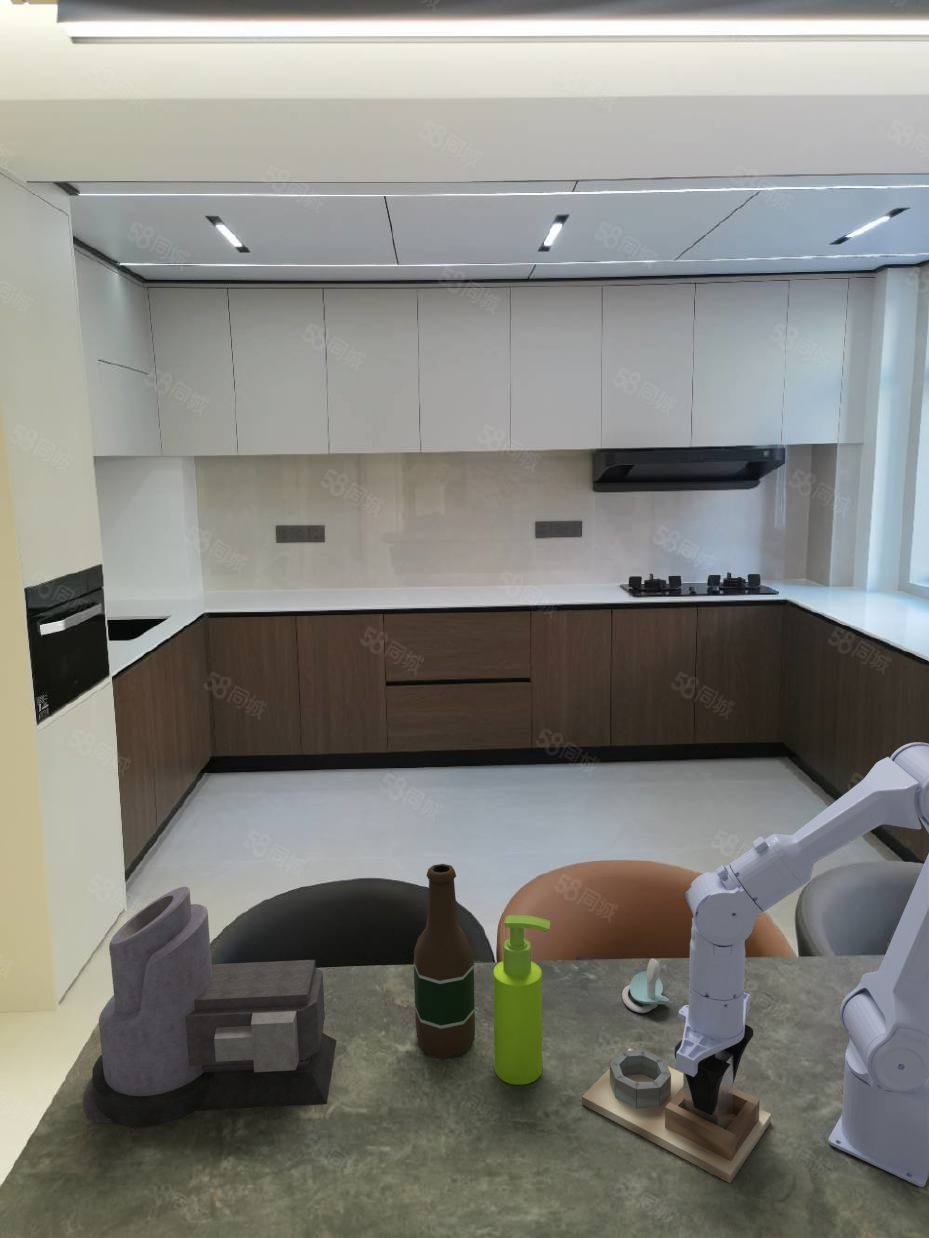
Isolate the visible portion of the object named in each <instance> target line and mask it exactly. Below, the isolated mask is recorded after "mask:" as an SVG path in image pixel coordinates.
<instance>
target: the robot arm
mask: <svg viewBox="0 0 929 1238" xmlns="http://www.w3.org/2000/svg"><path fill="white" fill-rule="evenodd" d="M920 821H921V822H920ZM921 823H922V824H921ZM881 825H888V826H893V827H894V826H895V827H900V828H908V829H913V830H921V829H922V825H923V826H924V828H925V829H926V831H927V834H929V743H926V742H919V741H918V742H916V741H915V742H910V743H906V744H904V745H902V746H900V747H899V748H897V749H896V750H895V751H894V752H893V753H892V754H891V756H890V757H889V756H887V757H885V758H882V759H881V760H879V761H877V762H876V763H875V764H874V766H872V768H871V769H870V771H869V772H868V773H867V775H865V777H864V778H863V779H861V781H859V782H858V783H857V784H856V785H854V786H853V787H852V788H851V789H850V790H848V791H847V792H846V793H844V794H842V796H840V797H839V798H838V799H836V800H835V801H834V802H832V804H830V805H829V806H828V807H827V808H825V809H824V810H823V811H821V812H820V813H818V815H816V816H814V818H812V819H810V821H808V822H807V823H806V824H805V825H803V826H802V827H801V828H800V829H798V830H797V831H796V832H794V833H792V834H784V833H783V834H782V833H772V834H770V836H767V837H766V838H764V837H763V836H758V837H757V838H756V839H754V840H753V841H752V842H751V845H752V848H751V849H749V850H747V851H746V852H745V853H743V854H741V855H740V856H739V857H738V858H736V859H734V860H733V861H732V862H730V863H729V864H727V865H726V866H725V865H724V864H722V865H720V866H718V867H717V868H716V869H715V871H713V872H710V871H707V872H704V873H702V874H700V875H698V876H697V877H696V878H694V879H693V881H692V882H691V884H690V887H689V889H688V890H687V891H685V899H686V902H687V904H688V906H689V908H690V910H691V913H692V916H693V917H692V918H691V930H690V936H691V939H690V941H689V970H688V974H689V976H688V1004H685V1005H683V1006H682V1007H681V1008H680V1009H679V1010H678V1018H679V1019H680V1020H682V1021H684V1028H683V1032H682V1033H683V1035H682V1039H681V1040H680V1041H679V1042H678V1043H677V1044H676V1045H675V1047H674V1059H675V1060H676V1061H675V1070H677V1071H679V1072H682V1073H684V1074H685V1076H686V1078H687V1081H688V1085H689V1088H690V1092H691V1097H692V1101H693V1104H694V1107H695V1108H696V1109H699V1110H701V1111H703V1112H705V1113H707V1114H709V1115H712V1114H713V1112H714V1110H715V1108H716V1105H717V1100H718V1094H719V1088H720V1084H721V1081H722V1078H723V1076H724V1074H725V1072H726V1070H727V1069H728V1067H729V1066H730V1065H731V1064H729V1063H727V1062H724V1061H722V1060H720V1059H718V1058H715V1053H717V1052H720V1051H722V1050H726V1051H728V1052H731V1053H733V1084H735V1079H736V1077H737V1076H736V1075H737V1073H738V1069H739V1066H740V1064H741V1063H740V1062H741V1059H742V1057H743V1055H744V1052H745V1050H746V1048H747V1046H748V1044H749V1043H750V1041H751V1039H752V1038H753V1037H754V1029H753V1028H752V1027H751V1026H749V1025H747V1024H746V1017H747V1013H748V1012H749V1011H750V1010H751V994H750V993H746V992H745V969H746V968H745V967H746V947H745V944H746V943H745V941H746V940H747V939H748V938H749V937H750V936H751V934H752V932H753V929H754V927H755V923H756V921H757V920H758V919H759V918H760V917H761V914H763V913H764V912H766V911H768V910H769V909H771V908H772V907H774V906H775V905H776V904H778V903H779V902H781V901H782V900H784V899H785V898H787V897H789V896H790V895H791V894H793V893H794V892H796V891H797V890H799V889H800V888H802V887H803V886H804V885H806V884H808V883H809V882H810V881H811V879H812V874H813V869H814V865H815V864H816V863H818V862H819V861H821V860H822V859H825V857H828V856H829V855H831V854H833V853H834V852H837V851H838V850H840V849H841V848H843V847H844V846H847V845H848V844H851V842H853V841H855V840H857V839H859V838H860V837H862V836H863V835H866V834H867V833H869V832H871V831H872V830H875V829H876V828H878V827H880V826H881ZM917 877H918V878H917V880H916V882H915V884H914V887H913V890H912V892H911V893H910V896H909V898H908V901H907V903H906V904H905V908H904V910H903V913H902V914H901V917H900V920H899V922H898V925H897V926H896V928H895V931H894V934H893V936H892V938H891V940H890V942H889V945H888V947H887V949H886V952H885V955H884V957H883V959H882V961H881V964H880V966H879V969H878V970H876V971H872V972H871V971H870V972H866V973H864V974H863V975H862V976H861V980H860V981H859V983H858V984H857V986H856V987H855V988H854V989H853V990H852V991H850V992H849V993H848V994H847V995H846V996H845V997H844V998H843V1000H842V1002H841V1005H840V1007H839V1018H840V1022H841V1023H842V1025H843V1027H844V1028H845V1030H846V1031H847V1033H849V1036H848V1037H849V1039H848V1045H847V1048H846V1050H845V1055H844V1073H843V1074H844V1075H843V1088H842V1089H843V1090H842V1091H843V1092H842V1109H841V1115H840V1117H839V1119H838V1120H837V1123H836V1124H835V1125H834V1128H833V1129H832V1132H830V1135H829V1136H828V1144H830V1146H832V1147H833V1148H836V1149H838V1150H841V1151H843V1152H845V1153H848V1154H849V1155H851V1156H853V1157H856V1158H858V1159H860V1160H862V1161H864V1162H866V1163H868V1164H871V1165H873V1166H875V1167H876V1168H879V1169H881V1170H883V1171H886V1172H888V1173H890V1174H892V1175H894V1176H896V1177H898V1178H901V1179H903V1180H905V1181H908V1182H909V1183H911V1184H913V1185H915V1186H917V1187H920V1188H921V1187H922V1188H923V1187H925V1186H926V1184H927V1181H928V1179H929V853H928V855H927V856H926V859H925V861H924V864H923V865H922V868H921V870H920V873H919V875H918V876H917Z"/></svg>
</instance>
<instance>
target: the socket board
mask: <svg viewBox="0 0 929 1238" xmlns="http://www.w3.org/2000/svg"><path fill="white" fill-rule="evenodd" d="M760 1102H761V1101H760V1099H759V1098H756V1097H755V1096H752V1095H751V1094H748V1093H746V1092H743V1091H742V1090H739V1089H737V1088H735V1087H733V1119H732V1121H731V1122H730V1123H729V1125H728V1126H727V1128H726V1129H723V1128H721V1127H719V1126H717V1125H715V1124H713V1123H711V1122H709V1121H707V1120H705V1119H703V1118H701V1117H699V1116H697V1115H695V1114H693V1113H691V1112H689V1111H687V1110H685V1109H683V1072H682V1071H680V1070H677V1069H676V1068H675V1069H674V1068H673V1067H670V1066H669V1065H667V1062H666V1061H665V1059H664V1058H663V1057H662V1056H661V1057H660V1056H658V1055H656V1054H654V1053H652V1052H650V1051H648V1050H645V1049H631V1048H628V1049H627V1050H622V1051H620V1052H619V1053H618V1054H617V1055H616V1056H615V1057H614V1058H613V1059H612V1060H611V1061H610V1062H609V1068H608V1070H606V1072H604V1074H603V1075H602V1076H601V1077H600V1078H599V1079H598V1080H597V1081H595V1083H594V1084H592V1086H591V1087H590V1088H589V1089H588V1090H587V1091H586V1092H585V1093H584V1094H582V1096H581V1104H582V1105H583V1106H584V1107H587V1108H588V1109H590V1108H591V1109H590V1110H592V1111H594V1112H596V1113H598V1114H600V1115H601V1116H603V1117H605V1118H607V1119H609V1120H610V1121H612V1122H615V1123H616V1124H619V1126H622V1127H623V1128H625V1129H627V1130H630V1131H632V1132H634V1133H635V1134H637V1135H639V1136H641V1137H643V1138H644V1139H646V1140H648V1141H650V1142H652V1143H654V1144H656V1145H657V1146H659V1147H661V1148H663V1149H665V1150H667V1151H669V1152H670V1153H673V1154H674V1155H676V1156H678V1157H680V1158H682V1159H683V1160H686V1161H688V1162H690V1163H691V1164H693V1165H695V1166H697V1167H698V1168H701V1169H702V1170H705V1171H706V1172H708V1173H710V1174H712V1175H714V1176H716V1177H717V1178H719V1179H720V1180H723V1181H725V1182H727V1183H729V1184H731V1183H732V1181H733V1180H734V1178H735V1177H736V1176H737V1174H738V1172H739V1171H740V1169H741V1168H742V1166H743V1165H744V1163H745V1162H746V1160H747V1159H748V1157H749V1155H750V1154H751V1153H752V1151H753V1150H754V1148H755V1146H756V1145H757V1144H758V1142H759V1141H760V1139H761V1137H762V1136H763V1134H764V1132H765V1131H766V1130H767V1128H768V1127H769V1126H770V1124H771V1121H772V1114H771V1113H770V1112H768V1111H765V1110H763V1109H761V1108H760V1105H761V1103H760Z"/></svg>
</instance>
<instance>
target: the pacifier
mask: <svg viewBox="0 0 929 1238" xmlns="http://www.w3.org/2000/svg"><path fill="white" fill-rule="evenodd" d="M660 976H661V965H660V963H659V962H658V960H657V959H656V958H655V959H654V958H650V959H649V962H648V963H647V967H646V970H644V971H643V970H642V971H640V972H638V973H636V974H635V975H634V976H633V977H632V979H631V980H630V984H628V985H626V986H625V987H624V988H623V990H622V993H621V997H622V1002H624V1005H626V1007H627V1008H628V1009H629V1010H631V1011H633V1012H636V1013H638V1014H645V1013H649V1012H650V1011H651V1010H653V1009H656V1008H657V1007H658V1005H665V1004H668V1003H669V1001H670V1000H669V998H668V997H666V996H664V995H662V994H663V990H664V986H663V985H664V984H663V982H662V980H661V978H660ZM629 995H631V997H632V999H633V1000H634V1001H636V1002H637V1003H640V1004H641V1005H642V1006H639V1005H637V1004H635V1003H633V1001H632V1000H631V999H630V997H629Z"/></svg>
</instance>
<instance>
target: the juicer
mask: <svg viewBox="0 0 929 1238" xmlns="http://www.w3.org/2000/svg"><path fill="white" fill-rule="evenodd" d="M190 892H191V891H190V888H189V887H187V886H181V887H177V888H175V889H173V890H171V891H169V892H167V893H165V894H163V895H162V896H160V897H158V898H156V899H155V900H153V901H151V902H150V903H149V904H148V905H146V906H145V907H144V908H142V909H141V910H139V911H138V912H137V913H136V914H134V915H133V916H131V918H129V920H127V921H126V922H125V923H124V924H123V925H122V926H121V927H119V929H118V930H117V931H116V932H115V934H114V935H113V936H112V938H111V940H110V942H109V943H108V944H109V945H108V949H109V957H110V965H111V977H112V989H113V995H112V996H111V997H110V998H109V1000H108V1001H107V1002H106V1004H105V1006H104V1007H103V1008H102V1010H101V1012H100V1013H99V1017H98V1026H99V1038H100V1046H101V1047H100V1049H101V1054H100V1055H99V1056H98V1058H97V1059H96V1061H95V1063H94V1064H93V1067H92V1069H91V1070H92V1073H91V1074H92V1076H91V1078H90V1079H89V1081H88V1082H87V1084H86V1087H85V1088H84V1093H83V1098H82V1104H83V1110H84V1113H85V1115H86V1118H88V1119H89V1120H90V1122H91V1123H92V1124H106V1123H108V1124H109V1123H112V1124H115V1125H118V1126H121V1127H126V1128H127V1127H128V1128H151V1127H158V1126H162V1125H166V1124H170V1123H174V1122H177V1121H179V1120H182V1119H184V1118H187V1117H188V1116H191V1115H194V1114H195V1113H196V1112H202V1111H205V1112H206V1111H222V1110H224V1111H225V1110H241V1109H242V1110H244V1109H260V1108H282V1107H298V1106H316V1105H317V1106H318V1105H319V1106H320V1105H327V1104H328V1099H329V1092H330V1086H331V1078H332V1073H333V1067H334V1060H335V1052H336V1045H337V1039H336V1038H333V1037H331V1036H329V1035H327V1034H325V1033H324V1025H325V1021H326V1020H325V1019H326V1013H325V1012H326V1011H325V994H324V993H325V992H324V991H325V990H324V973H323V972H324V971H323V970H321V969H320V968H317V967H316V959H304V960H303V959H300V960H279V961H260V962H259V961H258V962H256V961H255V962H238V963H237V962H236V963H215V964H214V963H212V955H211V953H212V952H211V941H210V940H211V939H210V925H209V912H208V911H209V910H208V908H207V907H206V906H205V905H202V904H199V903H195V904H194V903H192V902H191V893H190ZM191 903H192V904H191Z"/></svg>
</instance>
